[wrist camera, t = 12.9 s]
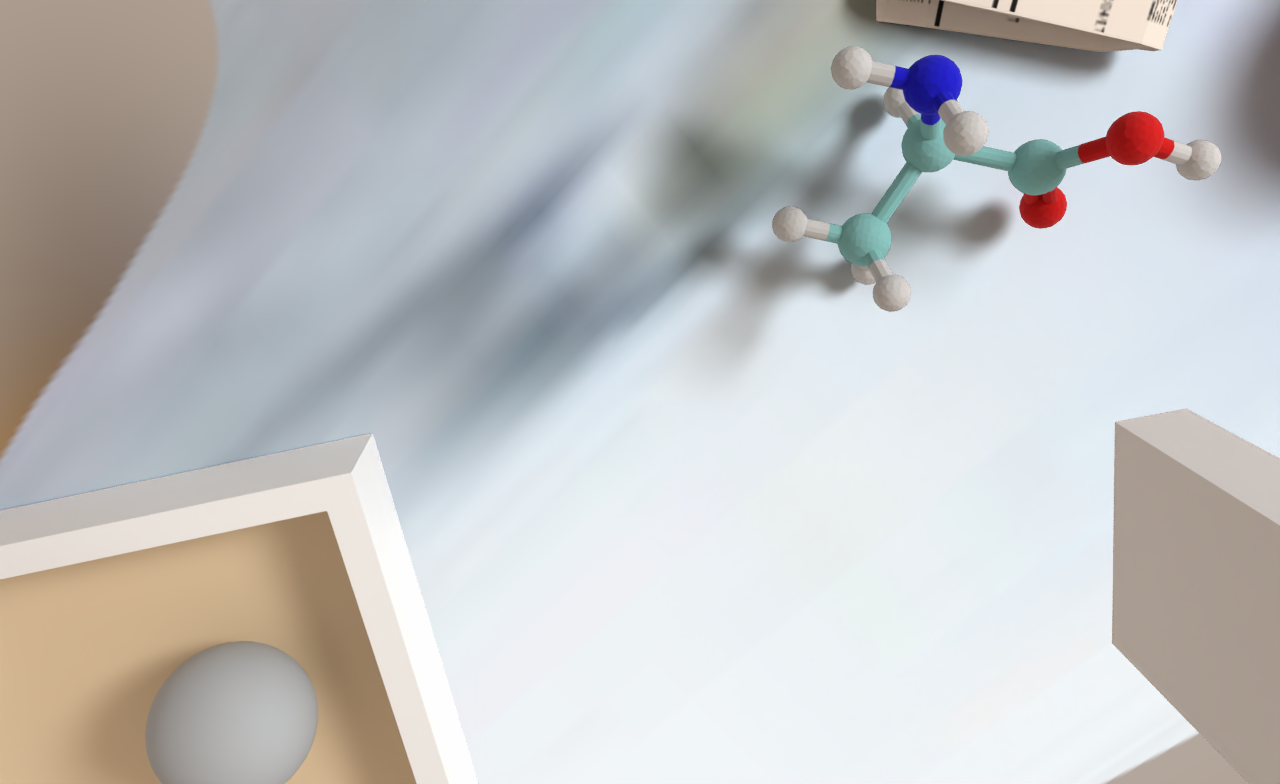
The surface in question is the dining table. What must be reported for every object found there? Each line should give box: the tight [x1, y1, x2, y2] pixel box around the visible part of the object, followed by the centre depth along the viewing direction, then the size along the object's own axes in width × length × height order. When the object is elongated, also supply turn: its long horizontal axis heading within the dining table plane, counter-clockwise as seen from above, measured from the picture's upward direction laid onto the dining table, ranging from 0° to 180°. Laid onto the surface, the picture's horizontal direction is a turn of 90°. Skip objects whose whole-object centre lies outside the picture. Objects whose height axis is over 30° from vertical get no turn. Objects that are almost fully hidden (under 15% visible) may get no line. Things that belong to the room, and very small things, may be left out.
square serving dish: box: [0, 433, 479, 784], centre depth 37 cm, size 20×20×4 cm
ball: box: [145, 641, 318, 784], centre depth 35 cm, size 6×6×6 cm
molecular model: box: [772, 46, 1221, 312], centre depth 30 cm, size 12×10×10 cm
